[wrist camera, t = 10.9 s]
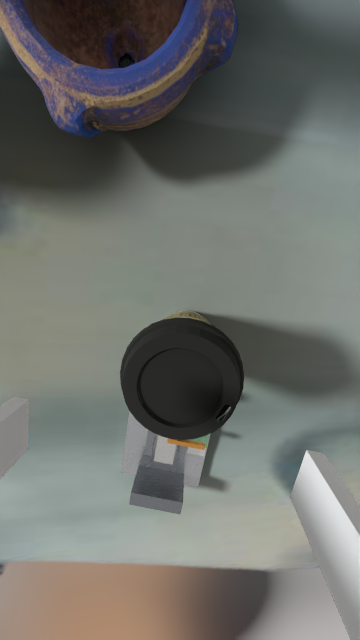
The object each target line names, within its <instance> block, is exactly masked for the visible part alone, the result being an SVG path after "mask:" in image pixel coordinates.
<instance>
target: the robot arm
mask: <svg viewBox="0 0 360 640" xmlns="http://www.w3.org/2000/svg"><path fill="white" fill-rule="evenodd" d="M28 420H29V400H28V399H22V398H17V397H12V398H10V399H9V400H8V401H6V402H5V403H4V404H2V405H1V406H0V479H1V478H2V477H3V476H4V475H5V473H6V472H7V471H8V470H9V469H10V468H11V467H12V466H13V465H14V464H15V462H16V461H17V460H18V459H19V458H20V457H21V456H22V455H23V454H24V452H25V451H26V450H27V449H28ZM290 498H291V500H292V503H293V505H294V507H295V510H296V512H297V514H298V517H299V519H300V521H301V524H302V526H303V529H304V531H305V533H306V536H307V538H308V540H309V543H310V545H311V547H312V550H313V552H314V554H315V557H316V559H317V562H318V564H319V566H320V569H321V571H322V573H323V575H324V578H325V580H326V583H327V585H328V587H329V589H330V592H331V594H332V597H333V599H334V602H335V604H336V606H337V608H338V611H339V613H340V616H341V618H342V620H343V623H344V625H345V628H346V630H347V632H348V635H349V637H350V639H351V640H360V505H359V504H358V502H357V501H356V500H355V498H354V497H353V495H352V494H351V492H350V491H349V490H348V488H347V487H346V485H345V484H344V482H343V481H342V480H341V478H340V477H339V475H338V474H337V472H336V471H335V470H334V468H333V467H332V465H331V464H330V462H329V461H328V460H327V458H326V457H325V455H324V454H323V453H319V452H314V451H308V450H307V451H306V453H305V456H304V459H303V462H302V465H301V468H300V470H299V473H298V476H297V479H296V482H295V484H294V487H293V490H292V493H291V496H290Z"/></svg>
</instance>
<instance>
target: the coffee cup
mask: <svg viewBox="0 0 360 640" xmlns="http://www.w3.org/2000/svg"><path fill="white" fill-rule="evenodd" d="M120 378H121V387H122V391H123V395H124V399H125V402H126V404H127V407H128V409H129V411H130V412H131V414H132V415H133V416H134V418H135V419H136V420H137V421H138V422H139V423H140V424H141V425H142V426H143V427H145V428H146V429H148V430H149V431H151V432H153V433H155V434H157V435H159V436H162V437H165V438H170V439H175V440H189V439H196V438H200V437H203V436H206V435H208V434H210V433H212V432H214V431H216V430H217V429H218V428H220V427H221V426H222V425H224V423H225V422H226V421H227V420H228V419H229V418H230V417H231V415H232V413H233V411H234V409H235V408H236V405H237V403H238V402H239V400H240V396H241V393H242V390H243V383H244V372H243V364H242V361H241V358H240V355H239V352H238V351H237V349H236V347H235V346H234V344H233V342H232V341H231V340H230V339H229V338H228V337H227V336H226V335H225V334H224V333H223V332H222V331H220V330H219V329H217V328H216V327H215V326H213V325H211V324H210V323H209V322H208V321H207V320H206V319H205V318H204V317H202V316H201V315H200V314H198V313H196V312H194V311H190V310H182V311H179V312H176V313H174V314H171V315H170V316H168V317H167V318H165V319H164V320H161V321H158V322H156V323H153V324H151V325H149V326H148V327H146V328H145V329H143V330H142V331H141V332H140V333H139V334H137V335H136V336H135V337H134V338H133V340H132V341H131V343H130V344H129V346H128V347H127V349H126V352H125V354H124V357H123V360H122V365H121V370H120ZM229 407H231V408H230V410H229V411H228V412H227V414H225V415H224V416H223V417H221V418H220V419H219V420H218V421H217V418H218V417H220V416H221V415H222V414H224V413H225V411H226V410H227V409H228V408H229Z"/></svg>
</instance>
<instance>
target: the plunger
mask: <svg viewBox="0 0 360 640" xmlns="http://www.w3.org/2000/svg"><path fill="white" fill-rule="evenodd" d="M176 445H181V446H186V447H191V448H196V449H201V450H205V447H206V445H205V443H201V442H195V441H190V440H175V439H170V438H165V437H162V436H159V435H158V440H157V445H156V451H155V457H154V461H156V462H161V463H166V464H171V465H173V460H174V455H175V450H176Z"/></svg>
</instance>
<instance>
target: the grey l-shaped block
mask: <svg viewBox="0 0 360 640" xmlns="http://www.w3.org/2000/svg"><path fill="white" fill-rule="evenodd" d="M210 434H211V433H210ZM210 434H208V435H206V436H203V437H200V438H196V439H189V440H190V441H195V442H201V443H205V445H206V447H205V450H201V449H196V448H191V447H186V446H181V445H176V450H175V455H174V460H173V465H171V464H166V463H161V462H156V461H154V457H155V451H156V445H157V440H158V435H157V434H155V433H153V432H151V431H149V430H148V429H146V428H145V427H143V426H142V425H141V424H140V423H139V422H138V421H137V420H136V419H135V418H134V416H133V415H132V414H131V412H129V420H128V427H127V434H126V441H125V448H124V456H123V463H122V470H121V473H126V474H131V475H136V477H135V480H134V484H133V488H132V491H131V497H130V503H129V504H130V505H135V506H141V507H146V508H151V509H156V510H161V511H166V512H171V513H176V514H180V513H181V509H182V504H183V488H184V485H188V486H193V487H198V485H199V481H200V477H201V472H202V468H203V464H204V460H205V455H206V451H207V447H208V443H209V439H210Z"/></svg>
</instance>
